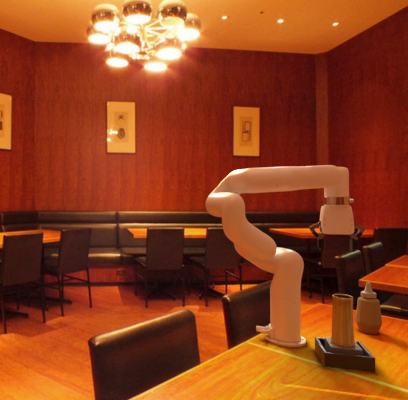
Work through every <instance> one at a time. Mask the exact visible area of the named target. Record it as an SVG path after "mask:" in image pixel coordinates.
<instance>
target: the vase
mask: <svg viewBox="0 0 408 400" xmlns="http://www.w3.org/2000/svg"><path fill="white" fill-rule="evenodd" d="M331 310H332V311H331V337H330V338H331V342H332V343H333V344H335V345H338V346H342V347H353V346H355V342H354V341H355V327H354V296H352V295H349V294H345V293H334V294H332V308H331Z"/></svg>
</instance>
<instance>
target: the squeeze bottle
mask: <svg viewBox="0 0 408 400" xmlns="http://www.w3.org/2000/svg"><path fill="white" fill-rule="evenodd" d="M381 310H382V309H381V302H380V300H379V299H378V298H377V293H376V292H374V291H373V287H372V284H371V282H370V281H366V282H365V287H364V289H363V290H361V291H360V296H359V297H358V298H357V303H356V311H355V319H354V320H355V323H356V326H357V328H358V330H359V331H360V332H361V333H363V334H364V333H365V334H370V335H378V334H379V333H380V330H381V328H382V325H383V317H382V311H381Z"/></svg>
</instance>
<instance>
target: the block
mask: <svg viewBox="0 0 408 400" xmlns="http://www.w3.org/2000/svg"><path fill="white" fill-rule="evenodd" d="M324 338H325V350H326V352H330V353H340V354H350V355H359V356H363V350H362V349H361V348H360V346H359V345H358V344H357V343H356V342H355V341H356V340H354V342H355V346H353V347H342V346H338V345H335V344H333V343H332V342H331V337H324Z"/></svg>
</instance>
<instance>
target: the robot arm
mask: <svg viewBox="0 0 408 400" xmlns="http://www.w3.org/2000/svg"><path fill="white" fill-rule="evenodd" d="M309 189H311V190H312V189H323V205H321V208H320V212H319V221H318V222H316V223H313V224H312V225H309V226H308V229H309V230H310V232H311V234H312V235H313V236H314V238H316V239H317V248H318V250H319V251H322V252H323V251H324V249H325V248H324V245H325V243H324V239H323V238H324V237H325V236H326V235H345V236H349V237H350V239H349V251H350V252H353V253H355V252H356V249H357V241H358V240H359V239H360V238H361V237H362V236H363V234H364V233H365V231H366V227H365V226H363V225H360V224H359V223H357V222H355V220H354V213H353V208H352V206H351V205H350V204H352V203H354V202H355V200H354V199H355V198H351V197H350V171H349V169H348V167H345V166H336V165H333V164H325V165H322V164H321V165H305V166H304V165H302V166H300V165H299V166H298V165H297V166H296V165H295V166H294V165H293V166H292V165H290V166H267V167H265V166H264V167H247V168H241V169H240V168H239V169H235V170H233V171H231V172H230V173H228V175H226V177H224V178H223V179H222V180H221V181H220V183H218V185H217V186H216V187H215V188H214V189H213V190H212V191H211V192H210V194H209V195H208V196H207V198H206V200H205V203H204V204H205V210H206V212H207V213H208V214H209V215H211V216H212V217H216V218H221V225H222V230H223V234H224V235H225V237H226V238H227V239H228V240H229V241H231V242H232V244H233V247H234V249H235V251H236V252H237V254H238V255H239V256H241V257H242V258H243V259H244V260H246V261H248V262H250V263H251V264H253V266H256V267H257V268H259V269H260V270H262V271H265V272H267V273H271V274H273V277H272V279H271V282H270V285H269V305H270V306H269V312H270V313H269V314H270V315H269V321H270V323H268V325H265V326H262V325H255V331H256V332H258V333H260V334H263V335H264V334H265V339H266V341H268V342H270V343H272V344H275V345H278V346H280V347H281V346H282V347H286V348H287V347H288V348H298V347H303V346H305V345H306V344H307V339H306V338H305V337H304V336H302V302H301V301H302V278H303V273H304V267H305V263H304V259H303V257H302V256H301V254H299V253H298V252H296V251H295V250H293V249H290V248H285V247H279V246H277V244H276V242H275V240H274V239H273V238H272V237H271V236H270V235H268V234H267V233H265V232H263V231H262V230H260V229H259V228H258V227H256V226H255V225H254V224H252V223H251V222H249V220H248V219H247V217H246V216H247V215H246V203H245V201H244V198H243V197H242V196H241V194H260V193H261V194H263V193H278V192H293V191H301V190H309ZM316 228H318V231H319V233H318V232H317V231H316ZM355 228H356V229H358V231H357V232H356V233H355Z"/></svg>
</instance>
